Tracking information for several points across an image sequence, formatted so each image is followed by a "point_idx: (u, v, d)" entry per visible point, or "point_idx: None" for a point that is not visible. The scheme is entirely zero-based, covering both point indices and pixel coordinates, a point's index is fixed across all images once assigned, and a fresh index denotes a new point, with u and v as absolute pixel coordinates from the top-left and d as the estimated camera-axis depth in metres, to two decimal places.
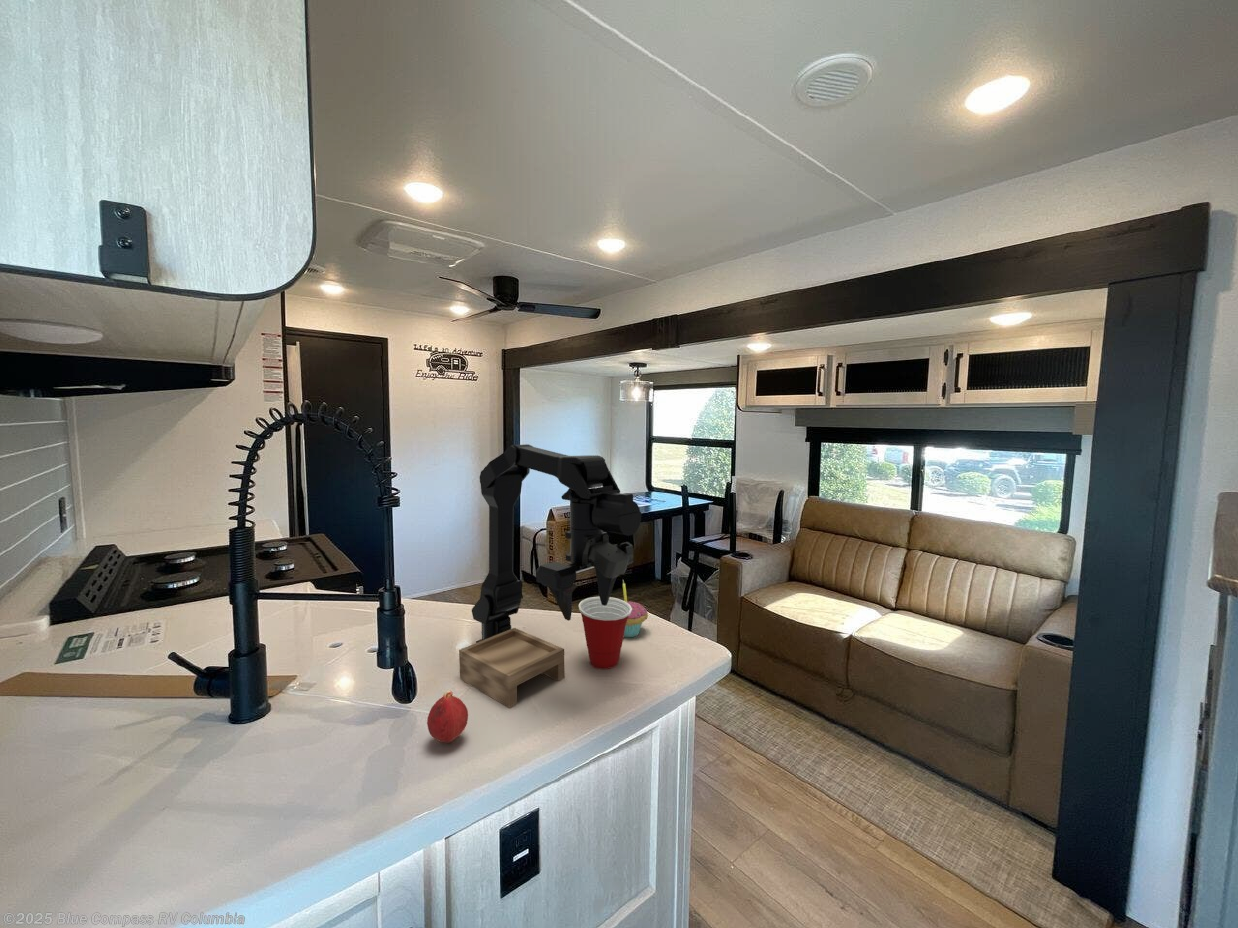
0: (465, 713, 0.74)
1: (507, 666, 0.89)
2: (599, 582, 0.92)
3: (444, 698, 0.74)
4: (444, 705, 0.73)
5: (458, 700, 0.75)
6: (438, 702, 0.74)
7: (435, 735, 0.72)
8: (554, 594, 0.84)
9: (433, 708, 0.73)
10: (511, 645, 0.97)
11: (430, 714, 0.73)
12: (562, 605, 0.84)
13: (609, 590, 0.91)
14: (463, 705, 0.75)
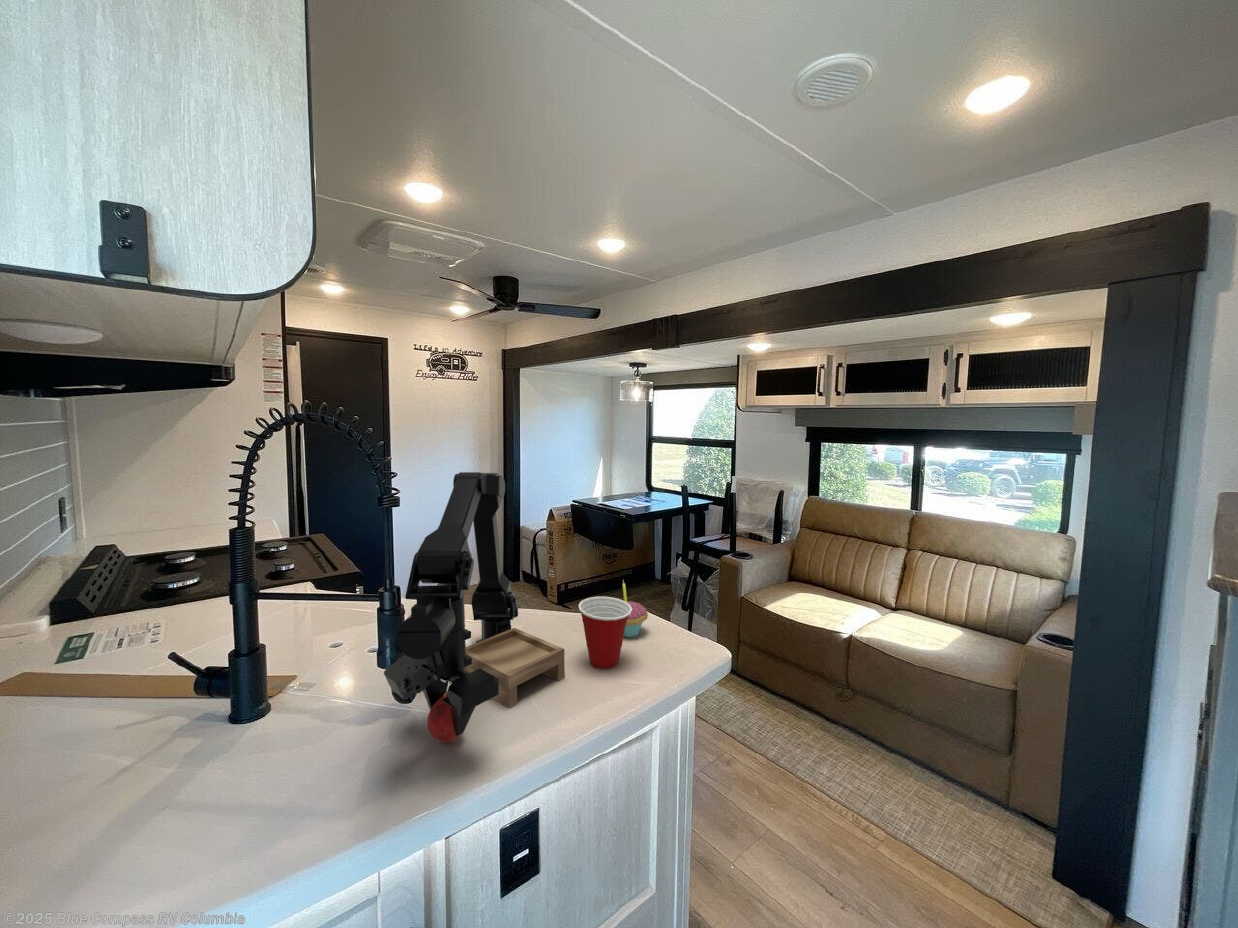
0: None
1: (507, 666, 0.89)
2: None
3: None
4: (444, 705, 0.73)
5: None
6: (438, 702, 0.74)
7: (435, 735, 0.72)
8: None
9: (433, 708, 0.73)
10: (511, 645, 0.97)
11: (430, 714, 0.73)
12: None
13: (453, 719, 0.71)
14: None
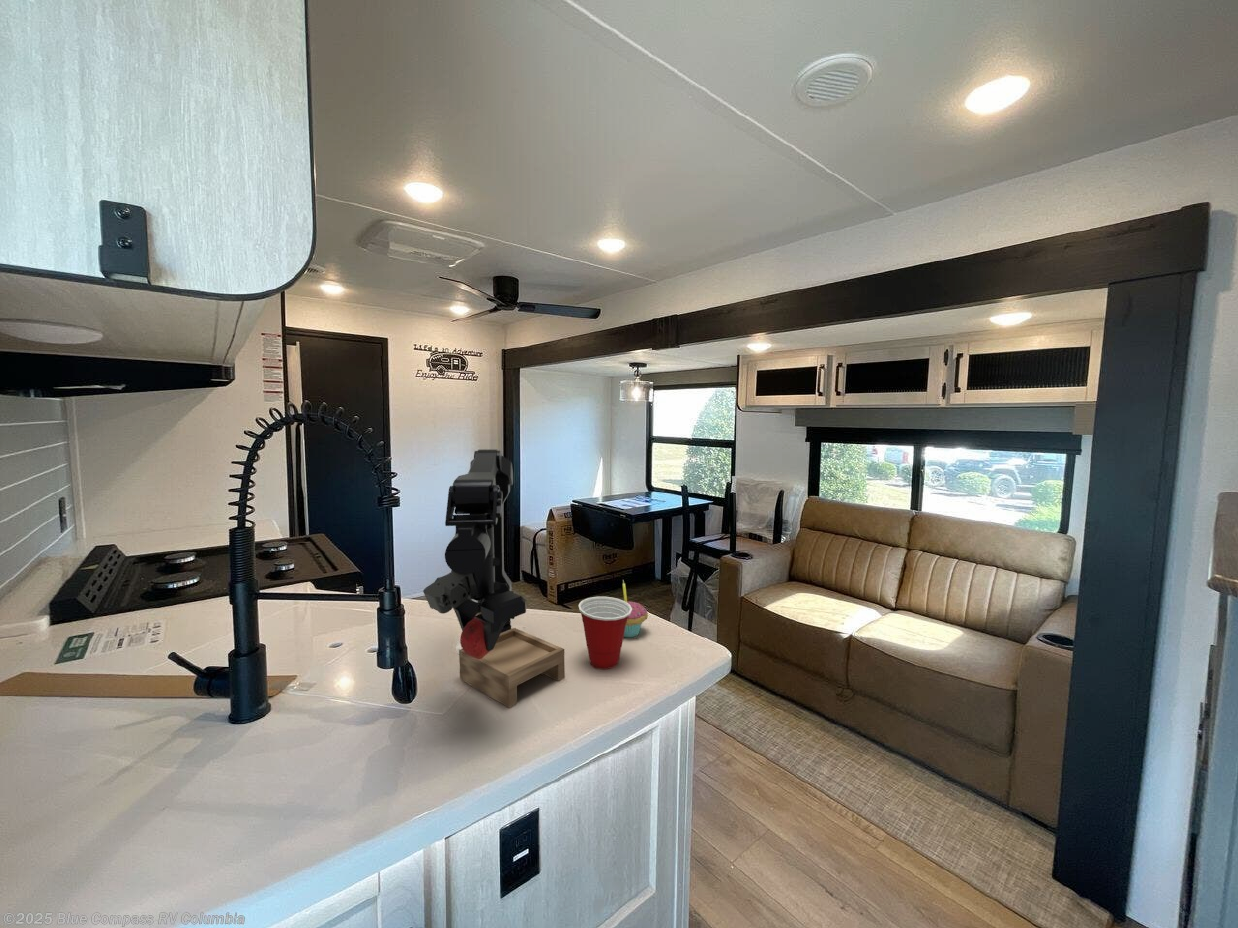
0: None
1: (507, 666, 0.89)
2: None
3: (475, 618, 0.81)
4: (475, 624, 0.81)
5: None
6: (470, 622, 0.81)
7: (468, 650, 0.80)
8: None
9: (465, 627, 0.81)
10: (511, 645, 0.97)
11: (463, 632, 0.81)
12: None
13: (484, 635, 0.79)
14: None
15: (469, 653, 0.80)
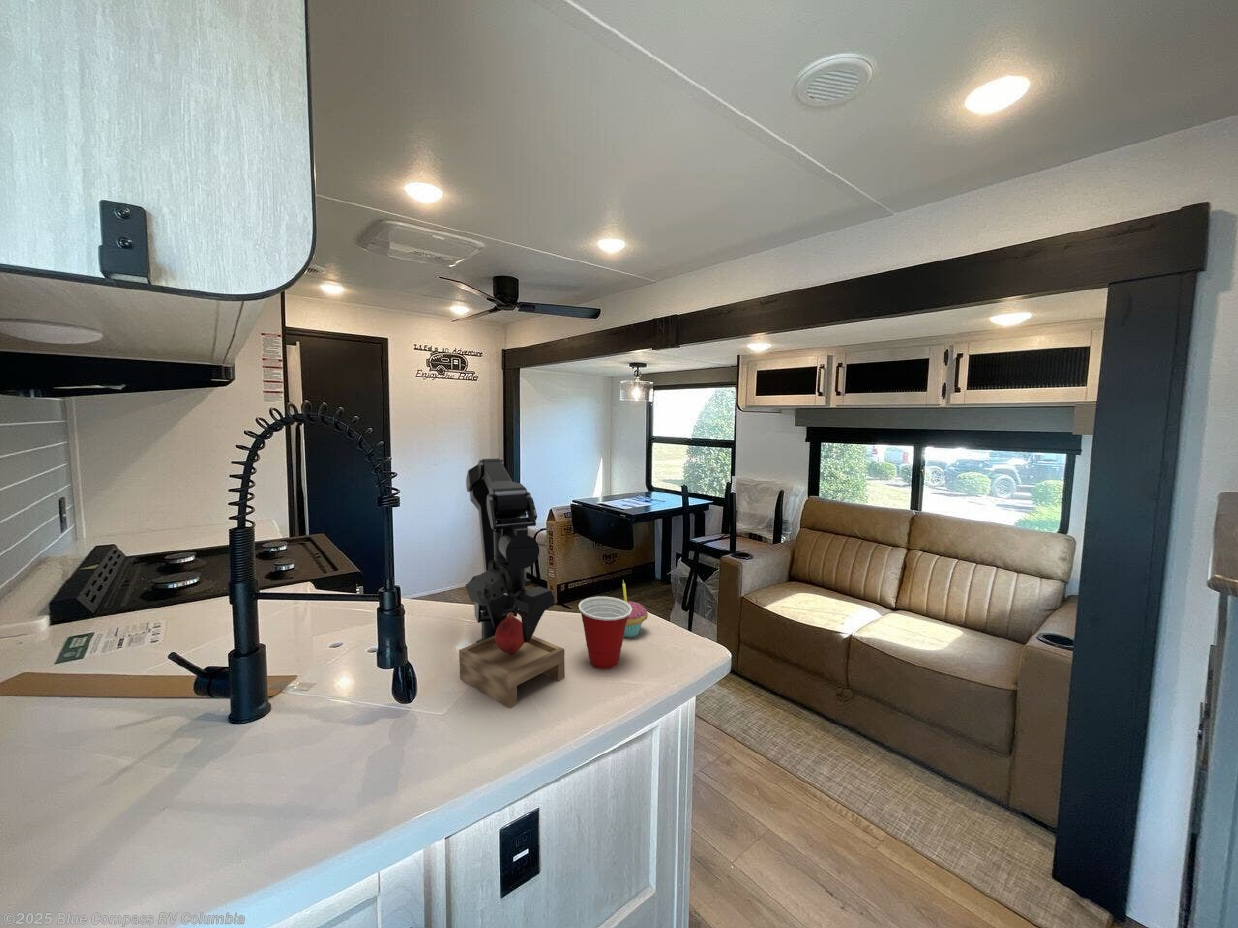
0: None
1: (507, 666, 0.89)
2: None
3: (507, 617, 0.92)
4: (508, 622, 0.92)
5: (518, 620, 0.93)
6: (503, 621, 0.92)
7: (502, 645, 0.90)
8: None
9: (499, 626, 0.92)
10: None
11: (497, 630, 0.92)
12: None
13: (523, 628, 0.89)
14: None
15: (503, 648, 0.91)
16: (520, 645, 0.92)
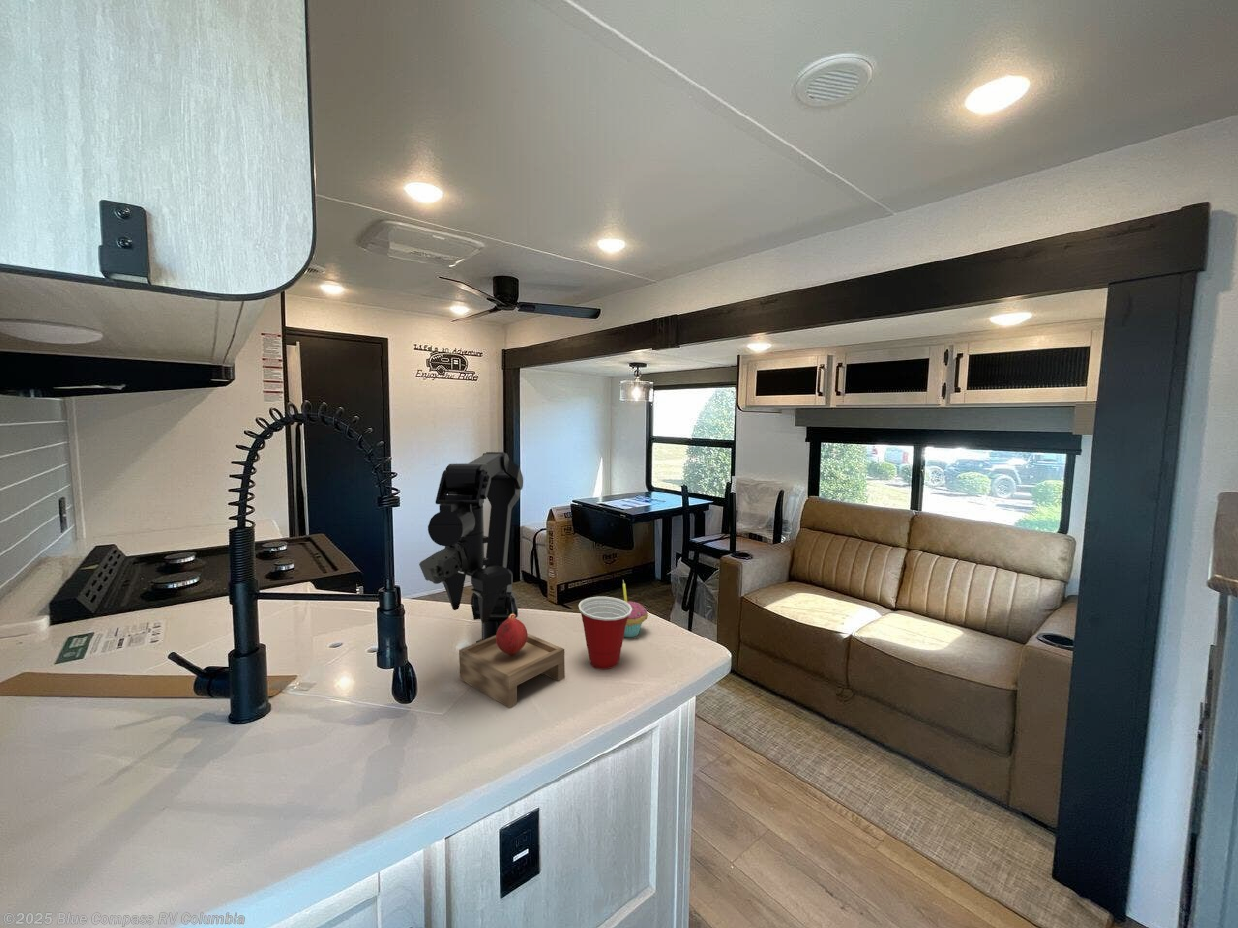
0: (525, 631, 0.93)
1: (507, 666, 0.89)
2: None
3: (509, 618, 0.92)
4: (510, 624, 0.91)
5: (520, 621, 0.93)
6: (504, 622, 0.92)
7: (503, 647, 0.90)
8: None
9: (501, 626, 0.92)
10: None
11: (498, 631, 0.91)
12: None
13: (479, 608, 0.86)
14: (524, 625, 0.93)
15: (504, 649, 0.91)
16: (521, 647, 0.92)
